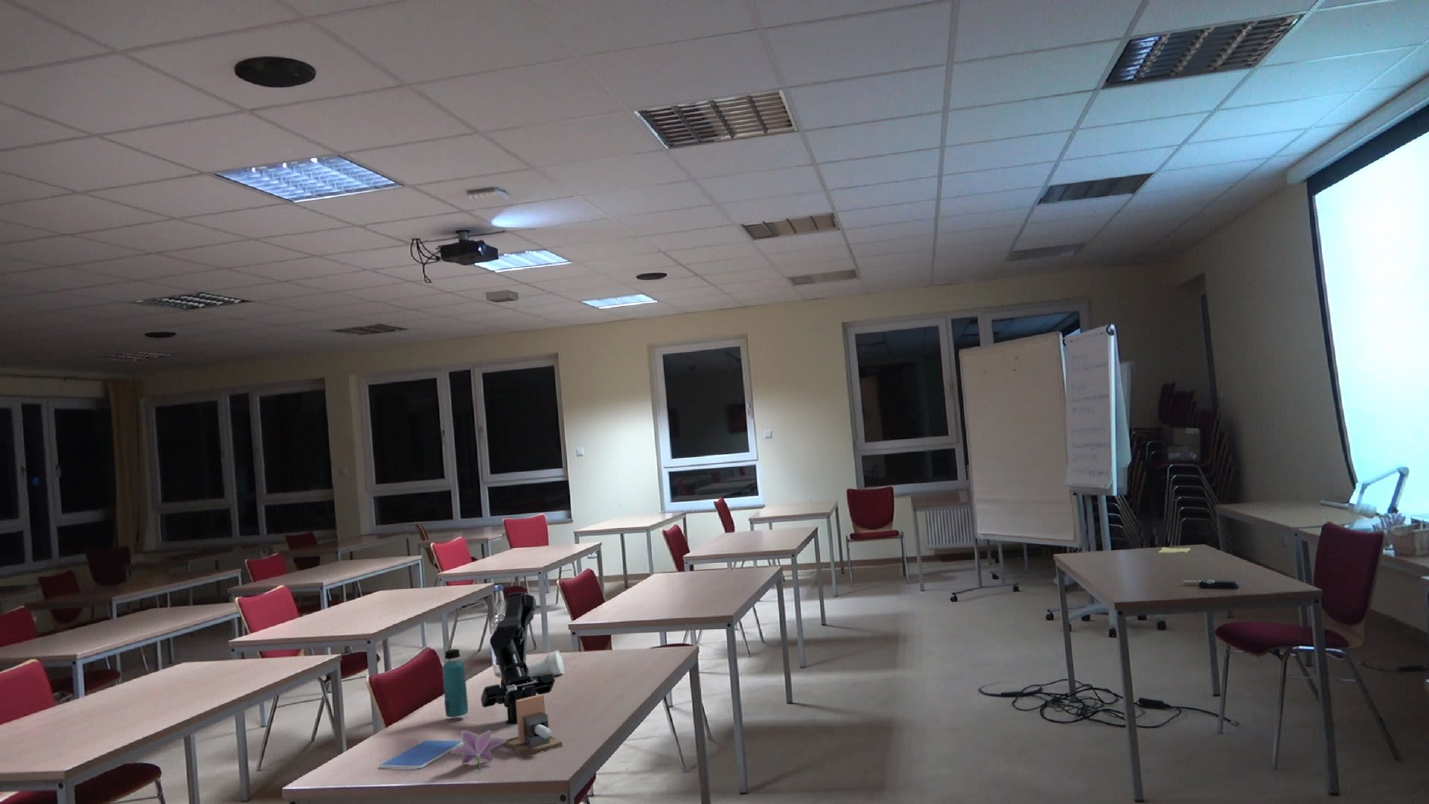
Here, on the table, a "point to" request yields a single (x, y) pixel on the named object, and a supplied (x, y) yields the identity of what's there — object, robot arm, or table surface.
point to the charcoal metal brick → (529, 735)
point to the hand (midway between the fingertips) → (527, 718)
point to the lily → (477, 746)
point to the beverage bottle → (454, 685)
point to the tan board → (527, 750)
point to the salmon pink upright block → (528, 708)
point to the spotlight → (547, 665)
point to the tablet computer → (421, 754)
